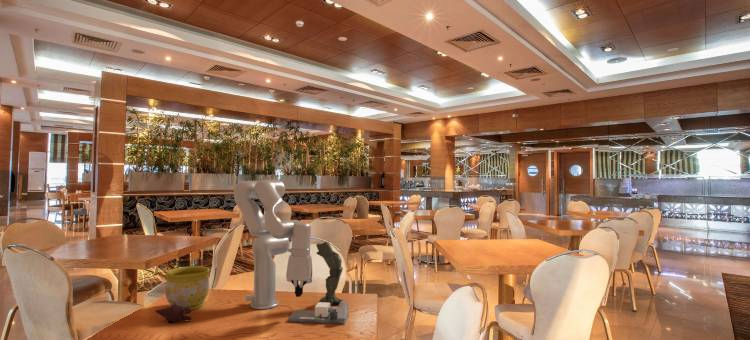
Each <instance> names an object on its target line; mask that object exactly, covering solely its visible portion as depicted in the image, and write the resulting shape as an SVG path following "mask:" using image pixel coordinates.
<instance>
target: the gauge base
mask: <svg viewBox="0 0 750 340" xmlns="http://www.w3.org/2000/svg"><path fill="white" fill-rule="evenodd" d="M349 312H350V311H349V300H343V301H341V302H340V304H339V305H338V306H337V310H336V313H332V312H330V313H329V315H328V316H327V317H315V310H311V309H310V310H309V309H308V310H307V309H295V310H294V311H293V312H292V313H291V315H290V316H288V318H287V319H288V320H287V321H288V323H306V324H309V323H310V324H328V325H345V324H346V322H347V320H348V317H349V315H350V314H349Z"/></svg>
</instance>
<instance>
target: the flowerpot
mask: <svg viewBox="0 0 750 340" xmlns="http://www.w3.org/2000/svg"><path fill="white" fill-rule="evenodd" d="M210 271H211V268H210V267H206V266H199V265H198V266H195V265H194V266H183V267H176V268H172V269H169V270H167V271H166V272H165V276H166V279H165V280H166V282H165V290H164V291H165V292H164V293H165V299H166V300H167V303H168V304H169V307H171V306H172V305H174V304H176V305H178V306H181V307H182V308H183V309H185V308H190V309H191V310H192V311H194V310H193V309H196V310H198V309H197V308H199V309H201V308H202V307H203V306H204V304H206V302H205V300H206V299H207V296H208V295H209V291H210V280H209V279H210V278H209V277H210V274H209V273H210ZM200 307H201V308H200Z"/></svg>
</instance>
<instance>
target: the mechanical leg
mask: <svg viewBox="0 0 750 340" xmlns="http://www.w3.org/2000/svg"><path fill="white" fill-rule="evenodd" d="M315 247H316V248H317V250H318V251H317V252H316V254H317V255H318V256H320V257H321V258H323V260H324V262H325V264H326V266H327V267H328V269H329V276H327V277H326V278H325V290H326V293H325V296H323V297H321V298H320V299H319V300H318V302H326V303H330V307H334V306H335V307H338V305H339V304H340V302H341V301H344V299H340V298H338V297H337V295H336V290H337V289H338V285H339V283H340V278H341V276H342V272H343V270H344V267H342V258H341V256H340V254H339V253H338V252H336V251H334V250H333V248H332V246H331V244H330V242H329V241H327V240H325V241H324V242H317V243H316V246H315Z"/></svg>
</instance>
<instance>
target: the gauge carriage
mask: <svg viewBox="0 0 750 340" xmlns="http://www.w3.org/2000/svg"><path fill="white" fill-rule="evenodd" d="M314 311H315V317H327V316H328V315H329V313H330V312H332V313H336V312H337V307H336V306H335V307H334V306H331V305H330V303H326V302H319V301H318V302H317V303H316V305H315V306H314Z"/></svg>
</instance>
